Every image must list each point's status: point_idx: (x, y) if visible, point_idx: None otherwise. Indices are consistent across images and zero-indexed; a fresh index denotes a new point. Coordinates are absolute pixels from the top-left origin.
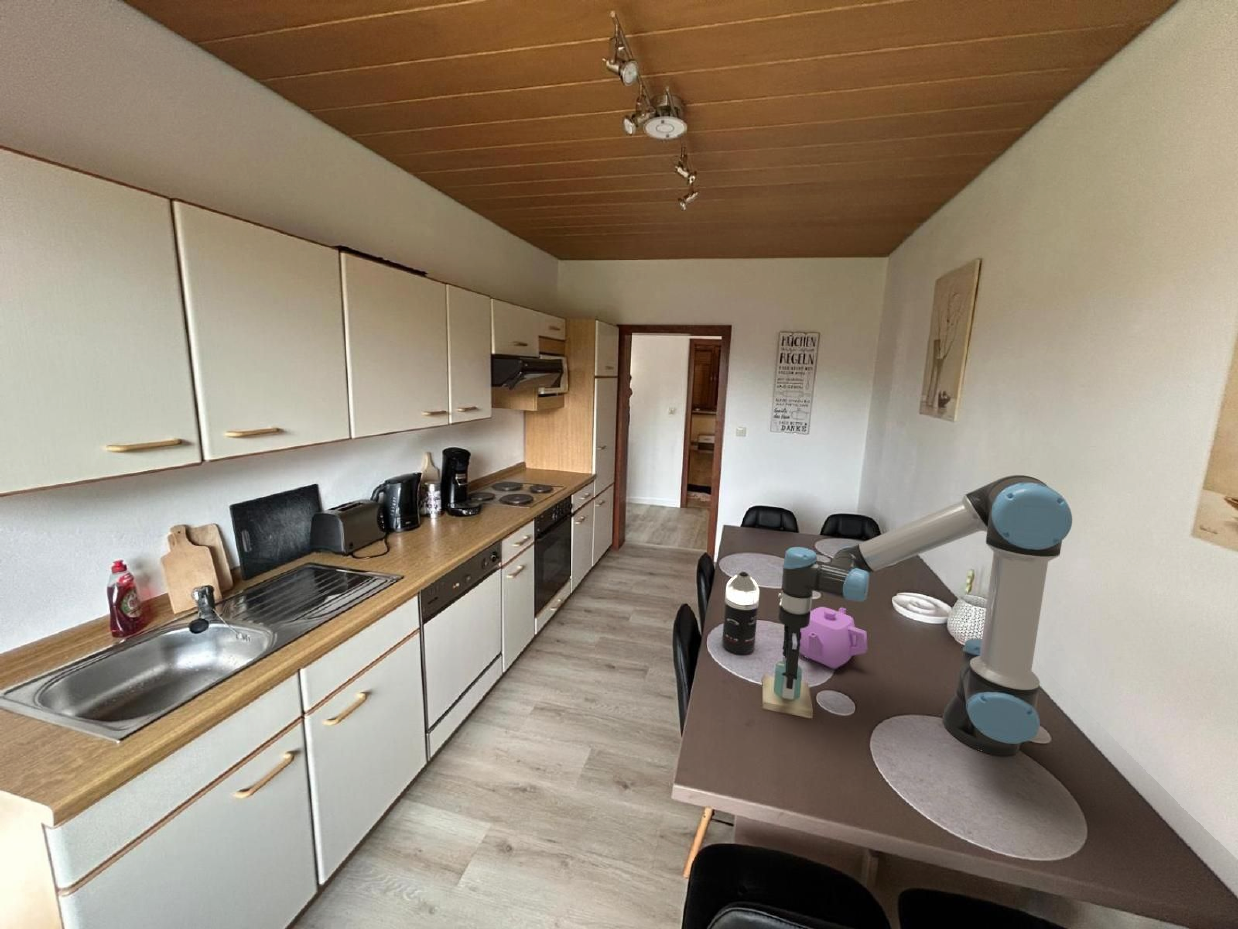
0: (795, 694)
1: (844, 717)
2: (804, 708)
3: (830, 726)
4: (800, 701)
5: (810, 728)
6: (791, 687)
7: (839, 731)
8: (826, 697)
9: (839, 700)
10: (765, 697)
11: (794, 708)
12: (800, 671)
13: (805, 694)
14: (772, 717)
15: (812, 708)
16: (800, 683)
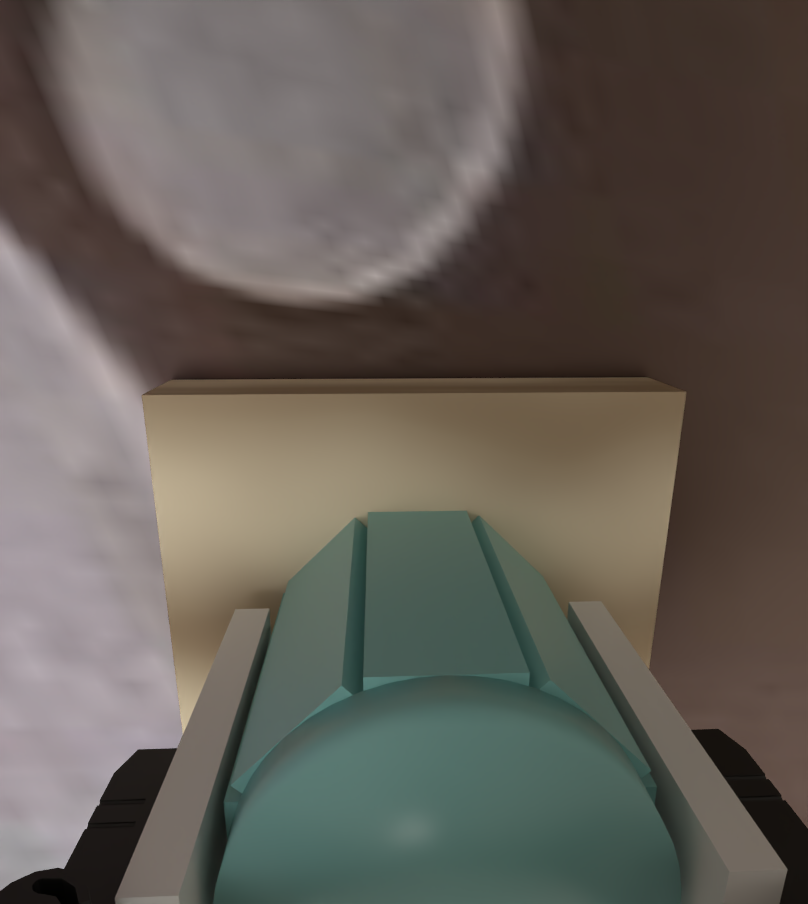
0: (542, 590)
1: (554, 15)
2: (654, 477)
3: (730, 210)
4: (544, 508)
5: (784, 407)
6: (747, 768)
7: (793, 124)
8: (238, 176)
9: (239, 13)
10: None
11: (657, 566)
12: (513, 754)
13: (396, 445)
14: (691, 692)
15: (637, 394)
16: (524, 613)
